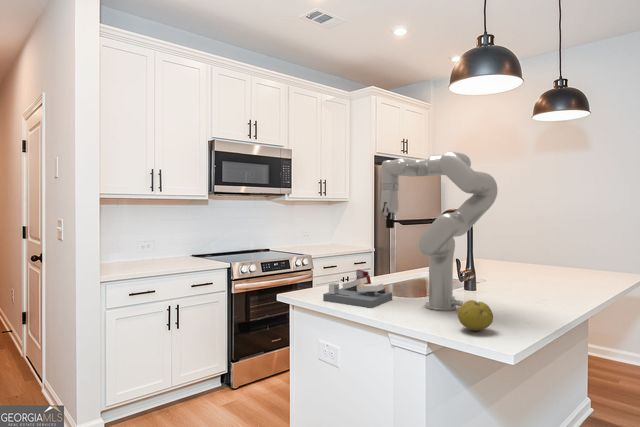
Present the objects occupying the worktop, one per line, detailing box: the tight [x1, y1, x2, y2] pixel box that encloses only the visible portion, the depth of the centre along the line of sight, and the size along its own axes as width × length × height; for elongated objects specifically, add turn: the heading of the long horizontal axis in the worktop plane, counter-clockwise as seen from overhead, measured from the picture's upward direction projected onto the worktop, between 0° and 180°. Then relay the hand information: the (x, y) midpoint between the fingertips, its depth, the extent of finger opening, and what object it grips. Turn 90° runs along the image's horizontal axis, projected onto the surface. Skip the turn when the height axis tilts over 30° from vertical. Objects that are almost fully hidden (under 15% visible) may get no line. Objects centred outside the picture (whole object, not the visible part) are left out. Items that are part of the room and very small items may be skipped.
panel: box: [322, 285, 393, 309], centre depth 188 cm, size 24×20×5 cm
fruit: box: [456, 299, 494, 332], centre depth 142 cm, size 11×12×10 cm
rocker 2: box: [357, 283, 385, 292], centre depth 185 cm, size 10×6×3 cm, turn 56°
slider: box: [328, 282, 340, 294], centre depth 187 cm, size 3×4×4 cm
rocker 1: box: [341, 277, 367, 289], centre depth 196 cm, size 10×6×3 cm, turn 56°
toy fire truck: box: [355, 269, 372, 284], centre depth 207 cm, size 7×12×10 cm, turn 24°
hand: (390, 227), depth 192 cm, fingers closed
